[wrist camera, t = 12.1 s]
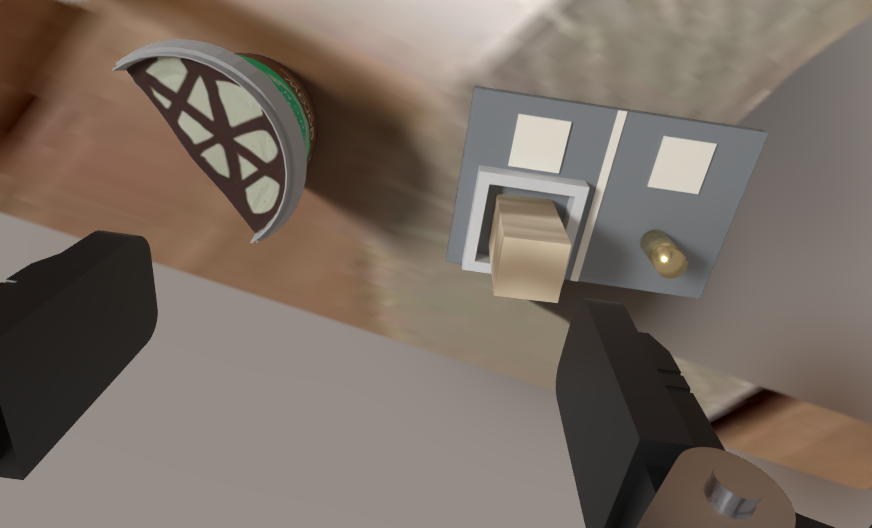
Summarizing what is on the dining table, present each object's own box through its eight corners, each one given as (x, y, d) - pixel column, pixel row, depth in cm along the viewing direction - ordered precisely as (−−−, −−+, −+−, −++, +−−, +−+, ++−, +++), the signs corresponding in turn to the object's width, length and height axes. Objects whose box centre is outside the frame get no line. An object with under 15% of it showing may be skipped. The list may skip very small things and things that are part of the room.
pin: (644, 227, 40) (662, 250, 36) (671, 231, 40) (692, 254, 36) (636, 252, 41) (653, 276, 37) (662, 255, 41) (681, 280, 37)
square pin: (496, 192, 39) (504, 236, 32) (551, 199, 39) (571, 244, 32) (488, 243, 41) (493, 295, 34) (540, 249, 41) (557, 302, 34)
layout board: (474, 85, 37) (475, 91, 35) (761, 129, 37) (780, 138, 35) (446, 256, 43) (445, 270, 40) (695, 292, 43) (707, 308, 41)
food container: (369, 155, 39) (341, 202, 30) (301, 195, 41) (256, 251, 32) (263, -8, 35) (193, -10, 26) (192, 44, 36) (104, 59, 28)
